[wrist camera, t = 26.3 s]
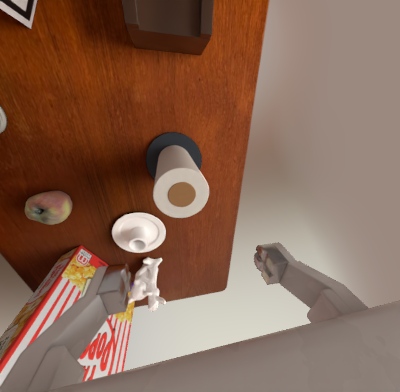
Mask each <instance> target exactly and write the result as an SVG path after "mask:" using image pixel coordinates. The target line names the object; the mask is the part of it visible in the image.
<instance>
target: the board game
mask: <svg viewBox="0 0 400 392" xmlns="http://www.w3.org/2000/svg"><path fill="white" fill-rule="evenodd" d="M103 266H109V265H108V264H106V263H105V262H104V261H102V260H101V259H100V258H98V257H97V256H95V255H94V254H93V253H91V252H90V251H88V250H87V249H86V248H84V247H83V246H82V245H80V246H79V247H77V248H75V249H73V250H72V251H70V252H68V253H66V254H65V255H63V256H61V258H60V259H59V260H58V261H57V263H56V264H55V265H54V267H53V268H52V270H51V271H50V272H49V274H48V275H47V277H46V278H45V279H44V281H43V282H42V283H41V285H40V286H39V287H38V289H37V290H36V291H35V293H34V294H33V295H32V297H31V298H30V299H29V301H28V302H27V303H26V305H25V306H24V307H23V309H22V310H21V311H20V313H19V314H18V315H17V317H16V318H15V319H14V320H13V322H12V323H11V324H10V326H9V327H8V328H7V330H6V331H5V332H4V334H3V335H2V336H1V338H0V386H1V385H2V383H3V381H4V380H5V378H6V376H7V375H8V373H9V372H10V370H11V368H12V367H13V365H14V363H15V362H16V360H17V359H18V357H19V355H20V354H21V352H22V351H23V350H25V349H26V348H27V347H28V346H29V345H30V344H31V343H32V342H33V341H34V340H35V339H36V338H37V337H39V336H40V335H41V334H42V333H43V332H44V331H45V330H46V329H47V328H48V327H49V326H50V325H51V324H52V323H54V322H55V321H56V320H57V319H58V318H59V317H60V316H61V315H62V314H63V313H64V312H65V311H66V310H68V309H69V308H70V307H71V306H72V305H73V304H74V303H75V302H76V301H77V300H78V299H79V298H81V297H84V295H85V293H86V291H87V288H88V286H89V284H90V282H91V280H92V278H93V275H94V273H95V271H96V269H97V268H98V267H103ZM133 285H134V283H132V286H131V289H132V287H133ZM130 294H131V291H130V292H129V293H128V297H129V295H130ZM134 303H135V301H133V302H132V303H129V304H128V306H127V310H126V312H122V313H118V314H113V315H109V317H108V318H107V320H106V321H105V323H104V324H103V325H102V327H101V328H100V330H99V331H98V332H97V334H96V335H95V337H94V338H93V339H92V341H91V342H90V343H89V345H88V346H87V348H86V349H85V350H84V352H83V353H82V355H81V356H80V357H79V359H78V360H77V361H78V362H79V363H80V364H81V366H82V367H83V368H84V370H85V374H84V377H83V381H82V382H84V381H88V380H92V379H96V378H100V377H103V376H107V375H111V374H115V373H119V372H123V368H124V362H125V356H126V351H127V345H128V339H129V333H130V327H131V321H132V315H133V309H134Z"/></svg>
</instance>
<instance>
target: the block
mask: <svg viewBox="0 0 400 392" xmlns="http://www.w3.org/2000/svg"><path fill="white" fill-rule="evenodd" d="M36 4H37V0H0V9H1V10H3V11H5V12H6V13H8V14H9V15H11V16H12V17H14V18H15V19H17V20H18V21H20V22H21V23H23V24H24V25H26V26H27V27H29V28H30V29H31V27H32V22H33V17H34V13H35V8H36Z"/></svg>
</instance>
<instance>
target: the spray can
mask: <svg viewBox="0 0 400 392" xmlns="http://www.w3.org/2000/svg"><path fill="white" fill-rule="evenodd" d="M6 126H7V117H6V114H5V112H4V110H3V109H2V107H1V106H0V133H2V132H3V131H4V130H5V128H6Z"/></svg>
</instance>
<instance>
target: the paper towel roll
mask: <svg viewBox="0 0 400 392" xmlns="http://www.w3.org/2000/svg"><path fill="white" fill-rule="evenodd" d="M208 196H209V187H208V183H207V181H206V180H205V178H204V177H203V175H202V173H201V172H200V170H199V169H198V167H197V166H196V164H195V163H194V161H193V160H192V158H191V156H190V155H189V153H188V152H187V151H186V150H185V149H184V148H183V147H181V146H177V145H171V146H168V147H166V148H164V149H163V150H162V151H161V153H160V155H159V158H158V164H157V170H156V177H155V183H154V189H153V198H154V201H155V204H156V206H157V207H158V208H159V209H160V210H161V211H162V212H163V213H164V214H166V215H168V216H171V217H175V218H185V217H189V216H192V215H194V214H196V213H197V212H199V211H200V210H201V209H202V208H203V207H204V206H205V204H206V202H207V200H208Z"/></svg>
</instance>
